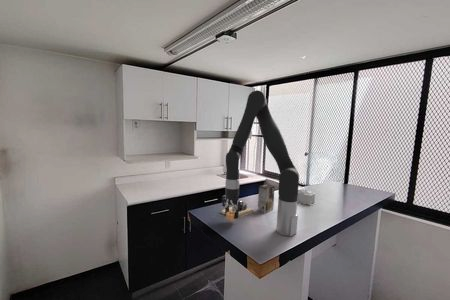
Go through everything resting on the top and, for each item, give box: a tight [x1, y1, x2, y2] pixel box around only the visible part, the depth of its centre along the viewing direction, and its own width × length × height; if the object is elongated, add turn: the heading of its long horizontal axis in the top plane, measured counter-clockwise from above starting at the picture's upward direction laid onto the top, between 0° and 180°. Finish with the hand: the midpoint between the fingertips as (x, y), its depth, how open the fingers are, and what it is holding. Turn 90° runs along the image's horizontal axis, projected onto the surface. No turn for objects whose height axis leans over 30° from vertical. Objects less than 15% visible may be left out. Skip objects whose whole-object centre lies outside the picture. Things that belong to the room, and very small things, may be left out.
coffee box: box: [257, 183, 275, 214], centre depth 137 cm, size 9×6×16 cm
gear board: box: [220, 199, 255, 219], centre depth 132 cm, size 12×17×7 cm
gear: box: [225, 211, 237, 222], centre depth 117 cm, size 6×6×3 cm
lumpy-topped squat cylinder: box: [297, 188, 316, 206], centre depth 157 cm, size 10×13×9 cm
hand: (231, 216), depth 117 cm, fingers closed on gear, 6 cm apart
